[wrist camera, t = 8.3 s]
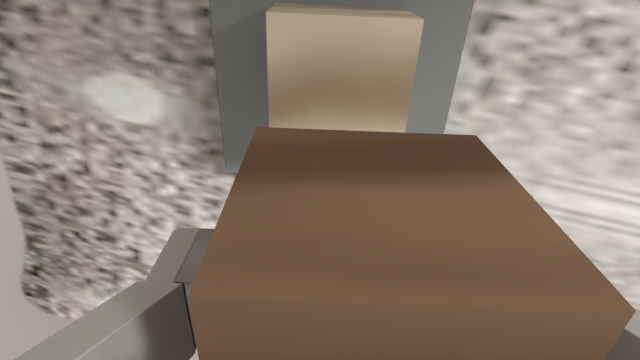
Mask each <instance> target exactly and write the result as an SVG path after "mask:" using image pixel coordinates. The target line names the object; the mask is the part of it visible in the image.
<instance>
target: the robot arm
mask: <svg viewBox="0 0 640 360" xmlns="http://www.w3.org/2000/svg"><path fill="white" fill-rule="evenodd" d="M214 230H215V229H203V228H202V229H199V228H177V229H176V230H174V231H173V233H172V234H171V236H170V238H169V240H168V241H167V243H166V245H165V247H164V248H163V250H162V252H161V254H160V256H159V257H158V259H157V261H156V263H155V264H154V266H153V268H152V270H151V271H150V273H149V275H148V277H147V279H146V280H145V282H136V283H134V284H133V285H131V286H130V287H128V288H127V289H125V290H123V291H122V292H120V293H119V294H117V295H115V296H114V297H112V298H111V299H109V300H108V301H106V302H104V303H103V304H101V305H100V306H98V307H96V308H95V309H93V310H92V311H90V312H89V313H87V314H85V315H84V316H82V317H81V318H79V319H77V320H76V321H74V322H73V323H71V324H70V325H68V326H66V327H65V328H64V329H62V330H60V331H59V332H57V333H55V334H54V335H52V336H51V337H49V338H48V339H46V340H44V341H43V342H41V343H40V344H38V345H36V346H35V347H34V348H32V349H30V350H29V351H27V352H25V353H24V354H22V355H21V356H19V357H17V358H16V359H14V360H189V359H190V358H191V357H192V356H193V355H194V354H195V350H197V346H196V340H195V335H194V330H193V325H192V320H191V314H190V309H189V304H188V299H187V296H188V293H189V291H190V288H191V286H192V283H193V281H194V279H195V276H196V274H197V271H198V269H199V266H200V264H201V261H202V259H203V257H204V254H205V252H206V249H207V247H208V244H209V242H210V239H211V237H212V234H213V232H214ZM633 308H634V307H633ZM634 309H635V308H634ZM635 310H636V312H635V313H634V315H633V316H632V318H631V319H630V321H629V322H628V324H627V325H626V327H625V328H624V330H623V331H622V333H621V334H620V336H619V337H618V339H617V340H616V342H615V343H614V345H613V346H612V348H611V349H610V351H609V352H608V354H607V355H606V357H605V358H604V360H640V311H639V310H637V309H635Z"/></svg>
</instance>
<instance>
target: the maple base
mask: <svg viewBox="0 0 640 360" xmlns="http://www.w3.org/2000/svg"><path fill="white" fill-rule="evenodd" d="M423 24H424V19H423V18H421V17H419V16H417V15H416V14H414V13H412V12H410V11H408V10H407V9H389V8H368V7H347V6H326V5H304V4H283V3H275V4H274V5H273V6H272V7H271V8H270V9H269V10H267V11H266V36H267V71H268V106H269V127H273V128H299V129H324V130H350V131H375V132H401V133H405V129H406V124H407V118H408V112H409V106H410V100H411V94H412V88H413V83H414V77H415V71H416V65H417V59H418V53H419V47H420V42H421V36H422V30H423Z"/></svg>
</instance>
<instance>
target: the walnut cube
mask: <svg viewBox="0 0 640 360" xmlns="http://www.w3.org/2000/svg"><path fill="white" fill-rule="evenodd" d="M187 299H188V304H189V309H190V314H191V320H192V325H193V330H194V335H195V340H196V346H197V351H198V356H199V360H604V358H605V357H606V355H607V354H608V352H609V351H610V349H611V348H612V346H613V345H614V343H615V342H616V340H617V339H618V337H619V336H620V334H621V333H622V331H623V330H624V328H625V327H626V325H627V324H628V322H629V321H630V319H631V318H632V316H633V315H634V313H635V312H636V310H635V309H634V308H633V307H632V306H631V305H630V304H629V303H628V302H627V301H626V299H625V298H624V297H623V296H622V295H621V294H620V293H619V292H618V291H617V290H616V288H615V287H614V286H613V285H612V284H611V283H610V282H609V281H608V280H607V279H606V277H605V276H604V275H603V274H602V273H601V272H600V271H599V270H598V269H597V268H596V267H595V265H594V264H593V263H592V262H591V261H590V260H589V259H588V258H587V257H586V256H585V254H584V253H583V252H582V251H581V250H580V249H579V248H578V247H577V246H576V245H575V244H574V242H573V241H572V240H571V239H570V238H569V237H568V236H567V235H566V234H565V233H564V231H563V230H562V229H561V228H560V227H559V226H558V225H557V224H556V223H555V222H554V220H553V219H552V218H551V217H550V216H549V215H548V214H547V213H546V212H545V211H544V210H543V208H542V207H541V206H540V205H539V204H538V203H537V202H536V201H535V200H534V199H533V197H532V196H531V195H530V194H529V193H528V192H527V191H526V190H525V189H524V188H523V187H522V185H521V184H520V183H519V182H518V181H517V180H516V179H515V178H514V177H513V176H512V174H511V173H510V172H509V171H508V170H507V169H506V168H505V167H504V166H503V165H502V164H501V162H500V161H499V160H498V159H497V158H496V157H495V156H494V155H493V154H492V153H491V151H490V150H489V149H488V148H487V147H486V146H485V145H484V144H483V143H482V142H481V140H480V139H479V138H478V137H477V136H476V135H452V134H426V133H401V132H375V131H350V130H324V129H299V128H273V127H256V129H255V132H254V134H253V137H252V139H251V142H250V144H249V146H248V149H247V151H246V154H245V156H244V159H243V161H242V164H241V166H240V168H239V171H238V173H237V176H236V178H235V181H234V183H233V186H232V188H231V190H230V193H229V195H228V198H227V200H226V203H225V205H224V208H223V210H222V212H221V215H220V217H219V220H218V222H217V225H216V227H215V230H214V232H213V234H212V237H211V239H210V242H209V244H208V247H207V249H206V252H205V254H204V257H203V259H202V261H201V264H200V266H199V269H198V271H197V274H196V276H195V279H194V281H193V283H192V286H191V288H190V291H189V293H188V296H187Z"/></svg>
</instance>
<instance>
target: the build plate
mask: <svg viewBox="0 0 640 360" xmlns="http://www.w3.org/2000/svg"><path fill="white" fill-rule="evenodd" d="M473 2H474V0H209V3H210V14H211V24H212V34H213V44H214V55H215V65H216V75H217V86H218V96H219V106H220V116H221V127H222V137H223V147H224V157H225V168H226V173H238V171H239V168H240V166H241V164H242V161H243V159H244V156H245V154H246V151H247V149H248V146H249V144H250V142H251V139H252V137H253V134H254V132H255V129H256V127H269V106H268V71H267V36H266V11H267V10H269V9H270V8H271V7H272V6H273V5H274V4H275V3H283V4H304V5H326V6H347V7H368V8H389V9H407V10H408V11H410V12H412V13H414V14H416V15H417V16H419V17H421V18H423V19H424V24H423V30H422V36H421V42H420V47H419V53H418V59H417V65H416V71H415V77H414V83H413V88H412V94H411V100H410V106H409V112H408V118H407V124H406V129H405V133H426V134H444V130H445V125H446V121H447V116H448V112H449V108H450V103H451V99H452V94H453V90H454V86H455V81H456V77H457V72H458V68H459V64H460V59H461V55H462V50H463V46H464V42H465V37H466V33H467V28H468V24H469V20H470V15H471V11H472V6H473Z"/></svg>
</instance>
